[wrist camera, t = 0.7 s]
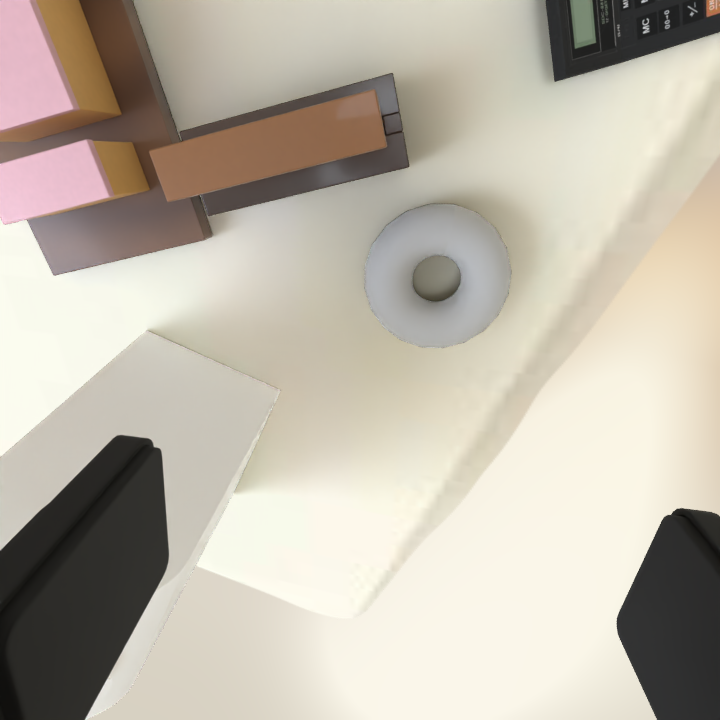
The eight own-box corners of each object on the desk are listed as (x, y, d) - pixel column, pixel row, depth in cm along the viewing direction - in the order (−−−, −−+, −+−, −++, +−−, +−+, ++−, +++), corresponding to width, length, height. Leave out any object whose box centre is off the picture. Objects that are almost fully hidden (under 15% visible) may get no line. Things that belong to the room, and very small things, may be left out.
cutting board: (-85, -52, 29) (-110, -62, 27) (92, -118, 27) (75, -132, 26) (66, 271, 36) (53, 275, 35) (213, 236, 34) (205, 239, 33)
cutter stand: (200, 133, 32) (178, 131, 29) (393, 81, 30) (392, 72, 27) (225, 210, 34) (207, 216, 30) (408, 165, 32) (409, 167, 29)
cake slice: (37, 167, 32) (-25, 170, 27) (132, 140, 31) (86, 138, 26) (58, 214, 33) (3, 224, 28) (151, 190, 32) (110, 197, 27)
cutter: (221, 151, 32) (147, 150, 23) (381, 108, 30) (375, 88, 21) (232, 187, 33) (166, 202, 24) (389, 148, 31) (386, 146, 22)
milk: (146, 330, 38) (-277, 634, 14) (280, 390, 39) (103, 761, 15) (111, 444, 42) (-251, 818, 19) (232, 494, 44) (40, 903, 20)
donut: (375, 344, 37) (508, 330, 36) (372, 362, 34) (518, 348, 33) (356, 211, 33) (504, 190, 32) (351, 217, 30) (515, 194, 29)
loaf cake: (-59, -44, 28) (-152, -84, 23) (48, -84, 27) (-26, -134, 22) (26, 143, 31) (-39, 142, 27) (123, 115, 30) (74, 108, 26)
